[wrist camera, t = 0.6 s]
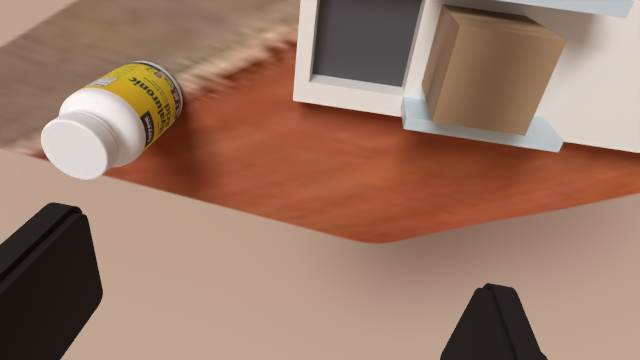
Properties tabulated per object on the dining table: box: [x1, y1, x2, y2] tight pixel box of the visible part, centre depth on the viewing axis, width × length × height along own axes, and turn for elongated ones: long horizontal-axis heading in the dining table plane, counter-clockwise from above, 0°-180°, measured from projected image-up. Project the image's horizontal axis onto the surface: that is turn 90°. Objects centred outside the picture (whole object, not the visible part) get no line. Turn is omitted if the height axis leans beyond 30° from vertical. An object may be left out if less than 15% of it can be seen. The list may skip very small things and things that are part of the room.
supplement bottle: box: [41, 61, 183, 180], centre depth 27 cm, size 5×5×10 cm
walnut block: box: [421, 4, 567, 136], centre depth 23 cm, size 5×5×6 cm
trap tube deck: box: [293, 0, 640, 153], centre depth 25 cm, size 26×10×6 cm, turn 83°
